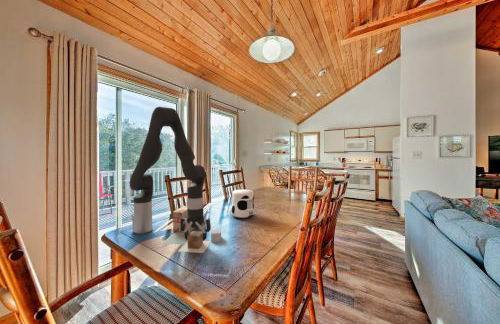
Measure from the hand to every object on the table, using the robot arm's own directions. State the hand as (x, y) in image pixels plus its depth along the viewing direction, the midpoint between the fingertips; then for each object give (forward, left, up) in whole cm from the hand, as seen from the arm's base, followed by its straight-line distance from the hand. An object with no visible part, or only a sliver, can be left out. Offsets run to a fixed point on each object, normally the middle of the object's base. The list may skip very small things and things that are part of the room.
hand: (195, 239), depth 95 cm
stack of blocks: (-15, +26, -4) cm, 30 cm away
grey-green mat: (-12, +6, -4) cm, 14 cm away
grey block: (+8, +8, -4) cm, 12 cm away
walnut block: (0, 0, -3) cm, 3 cm away
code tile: (0, 0, -4) cm, 4 cm away
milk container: (+17, +48, -4) cm, 51 cm away
